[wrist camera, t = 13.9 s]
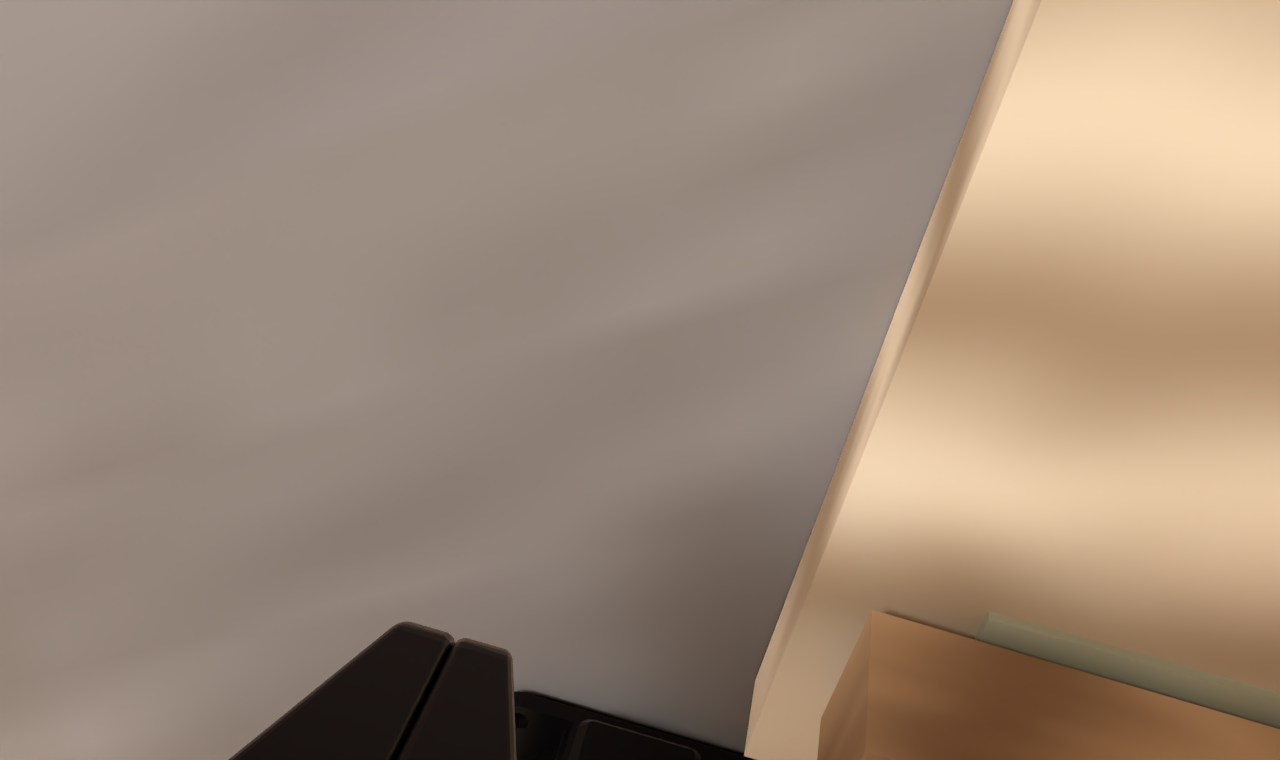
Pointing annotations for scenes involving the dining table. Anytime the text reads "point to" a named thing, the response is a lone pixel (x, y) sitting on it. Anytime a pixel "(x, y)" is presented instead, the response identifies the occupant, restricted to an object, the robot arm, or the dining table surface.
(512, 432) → the dining table surface
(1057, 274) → the stool board
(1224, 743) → the stool leg
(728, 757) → the robot arm
